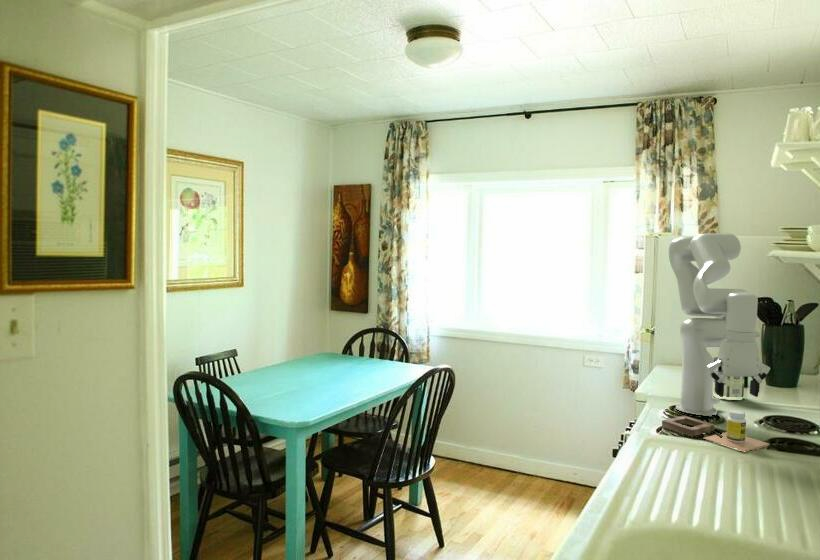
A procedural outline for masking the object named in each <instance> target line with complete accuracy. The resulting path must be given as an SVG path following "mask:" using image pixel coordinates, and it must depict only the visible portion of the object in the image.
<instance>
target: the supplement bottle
mask: <svg viewBox="0 0 820 560" xmlns="http://www.w3.org/2000/svg"><path fill="white" fill-rule="evenodd" d="M728 411H729V412H728V417H727V420H726V423H727V424H726V432H727V437H726V438H727V440H729V441H731V442H736V443H743V442H745V436H746V432H747V431H746V429H747V421H746V420H747V419H745V418H746V412H745V411H742V410H741V409H739V410H738V409H730V410H728Z"/></svg>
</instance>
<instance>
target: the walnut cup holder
mask: <svg viewBox="0 0 820 560" xmlns="http://www.w3.org/2000/svg"><path fill="white" fill-rule="evenodd" d="M682 424H689V425H694V427H690V426H687V425H682ZM661 428H662V429H665V428H666V429H665V430H668V429H670V430H669V431H671V430H673V431H672V432H674V431H676V432H675V433H677V432H679V433H678V434H680V433H683V434H686V435H688V436H687V437H689V436H691V437H690V438H694V437H693V436H696V435H699V434H701V433H705V432H708V431H711V430H716V429H715V428H716V427H715V424H713V423H711V422H706V421H703V420H701V419H697V418H693V417H690V416H687V415H681V416H676V417H672V418H667V419H663V420H661ZM683 434H682V435H683ZM686 435H685V436H686ZM696 437H697V436H696Z"/></svg>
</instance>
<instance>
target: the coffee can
mask: <svg viewBox="0 0 820 560" xmlns="http://www.w3.org/2000/svg"><path fill="white" fill-rule="evenodd" d="M712 358H713V361H714V362H716V361H717V358H718V356H717V357H712ZM714 371H715V374H717V373H718V371H717V368H715V369H714ZM722 383H724V395H723V396H726V397H743V396H744V393H745V391H744V390H745V377H730V376H727V377H726V378H725V379H724V380H723V381H722ZM713 393H714V394H716V392H715V380H714V379H713Z"/></svg>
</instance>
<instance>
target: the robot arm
mask: <svg viewBox="0 0 820 560" xmlns="http://www.w3.org/2000/svg"><path fill="white" fill-rule="evenodd" d="M741 247H742V246H741V242H740V240H739V238H738V236H736V235H735V234H733V233H727V232H726V233H725V232H724V233H715V232H714V233H712V232H711V233H710V232H707V233H700V234H697V235H696V236H683V237H682V236H681V237H677V238H675V239H673V240H672V241H671V242H670V243H669V246H668V260H669V263H670V267H671V269H672V271H673V274H674V275H675V277H676V278H675V279H676V281H677V288H678V294H679V301H680V307H681V310H682V311H683V313H684V314H685V315H686V316H693V318H688V319H685V320H684V321H682V323H681V324H680V326H679V327H680V329H679V332H680V339H681V348H682V349H681V352H682V356H681V357H682V358H681V360H682V361H681V387H680V388H681V391H680V403H678V404H676V405H675V410H676V409H677V410H679V411H682V412H686V413H691V414H696V415H703V416H709V417H713V416H712V415H715V416H716V415H718V410H717V408H715V407H714V405H717V404H719V403H720V402H721V400H720V399H719V398H714V397H713V379H714V380H715V392H716V394H717V395H719V396H720V397H723V395H724V383H722V381H723V380H724V379H725V378H726V377H727V376H730V377H744V378H745V377H747V378H751V379H752V380H750V382H749V395H751V396H753V397H756V398H758V397H759V393H760V384H762V383H763V380H765V378H767V376H768V375H767V374H769V372H770V370H771V367H770V366H768V365H767V364H765V363H762V362H761V361H760V351H759V344H758V341H756V340H757V338H760V337H761V332H757V320H758V319H757V317H758V303H759V302H758V301H759V300H758V296H757V295H756V294H755V293H751V292H749V291H748V290H746V289H742V288H716V287H715V288H712V287H711V288H709V287H708V285H709V284H713V283H714V282H717V281H720V280H722V279H724V278H725V277H727V275H728V274H729V273H730V272H731V264H730V261H734V260H736V259H737V258H738V257H739V255H740V253H741V249H742V248H741ZM692 262H696V265H697V266H696V265H695V264H693V263H692ZM710 317H711V318H710ZM712 317H713V318H712ZM714 317H715V318H714ZM707 348H718V353H717V357H718V358H717V361H716V362H714V360H713V358H714V357H713V356H712V355H711V354H710V353H709V351H708V350H707ZM715 368H717V371H718V373H717V374H715V371H714V369H715ZM760 368H761V371H760ZM677 410H676V411H677ZM679 411H678V412H679Z"/></svg>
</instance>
